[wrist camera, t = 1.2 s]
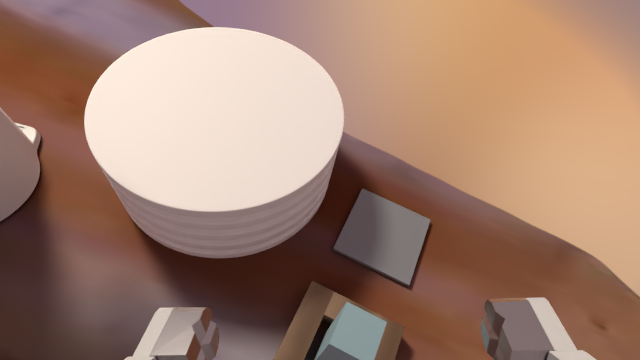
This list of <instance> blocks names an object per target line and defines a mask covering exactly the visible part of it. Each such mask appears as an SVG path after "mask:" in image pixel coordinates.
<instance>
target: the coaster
mask: <svg viewBox="0 0 640 360" xmlns="http://www.w3.org/2000/svg"><path fill="white" fill-rule="evenodd" d="M429 223H430V219H428V218H426V217H424V216H422V215H419V214H417V213H415V212H413V211H411V210H408V209H406V208H404V207H402V206H400V205H398V204H395V203H393V202H391V201H389V200H387V199H385V198H382V197H380V196H378V195H376V194H374V193H372V192H369V191H367V190H365V189H363V188H362V190H361V192H360V194H359V196H358V198H357V200H356V202H355V204H354V206H353V209H352V211H351V213H350V215H349V217H348V219H347V221H346V223H345V225H344V227H343V229H342V231H341V233H340V235H339V238H338V240H337V242H336V244H335V246H334V248H333V251H335V252H338V253H340V254H342V255H344V256H346V257H348V258H350V259H352V260H354V261H356V262H358V263H360V264H362V265H364V266H366V267H368V268H370V269H372V270H374V271H376V272H378V273H380V274H382V275H385V276H387V277H389V278H391V279H393V280H395V281H397V282H399V283H401V284H403V285H405V286H407V287H408V286H409V285H410V282H411V279H412V276H413V273H414V269H415V266H416V263H417V260H418V257H419V254H420V251H421V248H422V245H423V242H424V238H425V235H426V232H427V229H428V226H429Z"/></svg>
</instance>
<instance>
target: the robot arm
mask: <svg viewBox="0 0 640 360" xmlns="http://www.w3.org/2000/svg"><path fill="white" fill-rule="evenodd" d="M40 139H41V135H40V133H39V132H38V131H37V130H36V129H34V128H32V127H29V126H25V125H22V124H18V123H14V122H13V121H12V120H11V119H10V118H9V117H8V115H7V114H6V113H5V112H4V111H3V110H2V109H1V108H0V221H2V220H3V219H5V218H6V217H8V216H9V215H11V214H12V213H13V212H15V211H16V210H17V209H18V208H19V207H20V206H21V205H22V204H23V203H24V202H25V201H26V200H27V199H28V198H29V196H30V195H31V194H32V192H33V190H34V189H35V187H36V185H37V182H38V179H39V175H40V163H39V159H38V156H37V149H38V146H39V143H40ZM484 308H485V311H486V314H487V315H486V316H485V317H484V318H482V324H481V331H482V339H483V343H484V346H485V349H486V352H487V353H488V354H489V355H490V356H491V357H492V358H494V360H596V359H595V358H593V357H592V356H591V355H589V354H588V353H587V352H585V351H582V350H577V348H576V347H575V345H574V343H573V342H572V340H571V338H570V337H569V335H568V333H567V332H566V330H565V328H564V327H563V325H562V323H561V322H560V320H559V318H558V317H557V315H556V313H555V312H554V310H553V308H552V307H551V305H550V303H549V302H548V300H547V299H545V298H505V299H488V300H487V301H486V303H485V307H484ZM212 315H213V314H212V312H211V310H210V308H208V307H172V308H159V309H158V310H157V311H156V312H155V314H154V316H153V318H152V320H151V322H150V323H149V325H148V327H147V329H146V331H145V333H144V335H143V337H142V339H141V341H140V343H139V345H138V346H137V348H136V350H135V352H134V354H133V356H132V357H127V358H125V359H124V360H212V359H213V358H214V357H215V356H216V352H217V349H218V343H219V332H218V328H217V325H216V324H215V323H214V322H212V321H211V318H212Z"/></svg>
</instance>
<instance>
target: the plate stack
mask: <svg viewBox="0 0 640 360" xmlns="http://www.w3.org/2000/svg"><path fill="white" fill-rule="evenodd" d="M84 126H85V134H86V138H87V142H88V145H89V147H90V150H91V152H92V154H93V156H94V157H95V159H96V161H97V162H98V164H99V166H100V167H101V169H102V171H103V172H104V174H105V176H106V177H107V179H108V180H109V182H110V184H111V185H112V187H113V189H114V190H115V192H116V194H117V195H118V197H119V199H120V200H121V202H122V204H123V205H124V207H125V209H126V210H127V212H128V214H129V215H130V217H131V218H132V219H133V221H134V222H135V223H136V224H137V225H138V227H139V228H140V229H141V230H143V231H144V232H145V233H146V234H147V235H148V236H150V237H151V238H153V239H154V240H156V241H157V242H159V243H161V244H162V245H164V246H166V247H168V248H171V249H173V250H176V251H178V252H181V253H185V254H189V255H193V256H198V257H206V258H234V257H241V256H246V255H251V254H255V253H258V252H261V251H264V250H267V249H269V248H272V247H274V246H276V245H278V244H280V243H282V242H284V241H285V240H287V239H289V238H290V237H292V236H293V235H294V234H296V233H297V232H298V231H299V230H301V229H302V228H303V227H304V226H305V225H306V224H307V223H308V222H309V221H310V219H311V218H312V217H313V216H314V214H315V213H316V212H317V210H318V209H319V207H320V205H321V203H322V201H323V199H324V196H325V194H326V191H327V187H328V183H329V180H330V177H331V173H332V169H333V166H334V162H335V159H336V155H337V152H338V148H339V144H340V141H341V138H342V133H343V128H344V109H343V103H342V100H341V96H340V94H339V92H338V89H337V87H336V85H335V84H334V82H333V80H332V79H331V77H330V76H329V74H328V73H327V72H326V71H325V70H324V68H323V67H322V66H321V65H320V64H318V62H316V61H315V60H314V59H313V58H312V57H310V56H309V55H308V54H306V53H305V52H303V51H302V50H300V49H299V48H297V47H295V46H293V45H291V44H289V43H287V42H285V41H283V40H280V39H278V38H275V37H272V36H269V35H266V34H263V33H259V32H254V31H249V30H243V29H236V28H220V27H219V28H218V27H213V28H197V29H189V30H183V31H178V32H174V33H170V34H167V35H163V36H160V37H157V38H155V39H152V40H150V41H147V42H145V43H143V44H141V45H139V46H137V47H135V48H133V49H132V50H130V51H129V52H127V53H125V54H124V55H123V56H121V57H120V58H119V59H117V60H116V61H115V62H114V63H113V64H112V65H111V66H110V67H108V69H107V70H106V71H105V72H104V73H103V74H102V75H101V77H100V78H99V79H98V81H97V82H96V84H95V86H94V87H93V89H92V91H91V93H90V96H89V98H88V101H87V105H86V109H85V117H84Z"/></svg>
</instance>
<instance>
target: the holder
mask: <svg viewBox="0 0 640 360" xmlns="http://www.w3.org/2000/svg"><path fill="white" fill-rule="evenodd" d="M346 302H349V303H351V304H353V305H355V306H357V307H359V308H360V309H362V310H364V311H366V312H368V313H370V314H372V315H374V316H376V317H378V318H380V319H382V320H384V321H386V322H387V324H386V327H385V330H384V333H383V336H382V338H381V341H380V344H379V347H378V350H377V353H376V356H375V359H374V360H395V357H396V354H397V351H398V347H399V344H400V341H401V338H402V334H403V331H404V328H405V327H403V326H401V325H399V324H397V323H395V322H393V321H391V320H389V319H387V318H385V317H383V316H381V315H379V314H377V313H375V312H373V311H371V310H370V309H368V308H366V307H364V306H362V305H360V304H358V303H356V302H354V301H352V300H350V299H348V298H346V297H344V296H342V295H340V294H338V293H336V292H334V291H332V290H330V289H328V288H326V287H324V286H322V285H320V284H318V283H316V282H314V281H312V282H311V284H310V286H309V288H308V290H307V292H306V294H305V296H304V298H303V300H302V302H301V304H300V306H299V308H298V310H297V312H296V314H295V317H294V319H293V321H292V323H291V325H290V327H289V329H288V331H287V333H286V335H285V337H284V339H283V341H282V343H281V345H280V347H279V349H278V351H277V353H276V355H275V357H274V359H273V360H304V359H305V356H306V354H307V352H308V350H309V347H310V345H311V343H312V341H313V338H314V336H315V334H316V332H317V329H318V327H319V325H320V323H321V320H322V321H324V322H326V323H328V324H330V325H331V324H332V323H333V321H334V320H335V318H336V317H337V315H338V314H339V312H340V311H341V309H342V308H343V306H344V305H345V304H346Z"/></svg>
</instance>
